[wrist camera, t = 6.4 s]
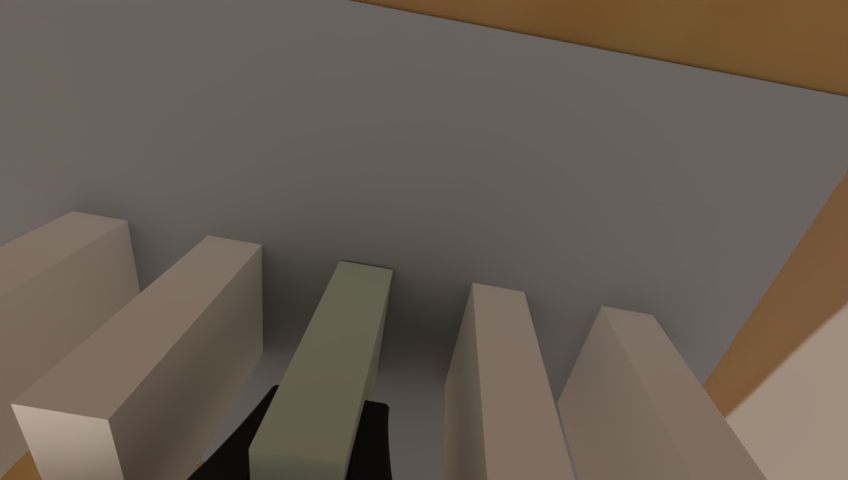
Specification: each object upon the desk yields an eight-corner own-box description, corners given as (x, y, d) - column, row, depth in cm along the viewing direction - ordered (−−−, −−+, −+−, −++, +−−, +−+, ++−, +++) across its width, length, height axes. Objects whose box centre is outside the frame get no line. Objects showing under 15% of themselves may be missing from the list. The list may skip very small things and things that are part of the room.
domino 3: (524, 292, 14) (580, 499, 8) (490, 391, 16) (513, 615, 10) (472, 282, 14) (487, 483, 8) (445, 383, 16) (440, 603, 10)
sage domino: (392, 269, 14) (344, 464, 8) (376, 374, 16) (329, 591, 10) (339, 260, 14) (248, 448, 8) (330, 366, 16) (254, 579, 10)
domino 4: (652, 314, 14) (807, 538, 8) (601, 410, 16) (692, 643, 10) (601, 305, 14) (716, 522, 8) (557, 402, 16) (620, 632, 10)
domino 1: (127, 220, 14) (-138, 378, 8) (147, 331, 16) (-46, 525, 10) (73, 211, 14) (-238, 361, 8) (100, 323, 16) (-124, 512, 10)
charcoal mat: (604, 520, 20) (606, 529, 20) (71, 431, 20) (64, 439, 19) (877, 102, 11) (890, 105, 11) (-102, -88, 11) (-121, -91, 10)
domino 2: (261, 244, 14) (107, 420, 8) (263, 352, 16) (144, 555, 10) (208, 235, 14) (11, 403, 8) (216, 343, 16) (68, 543, 10)
